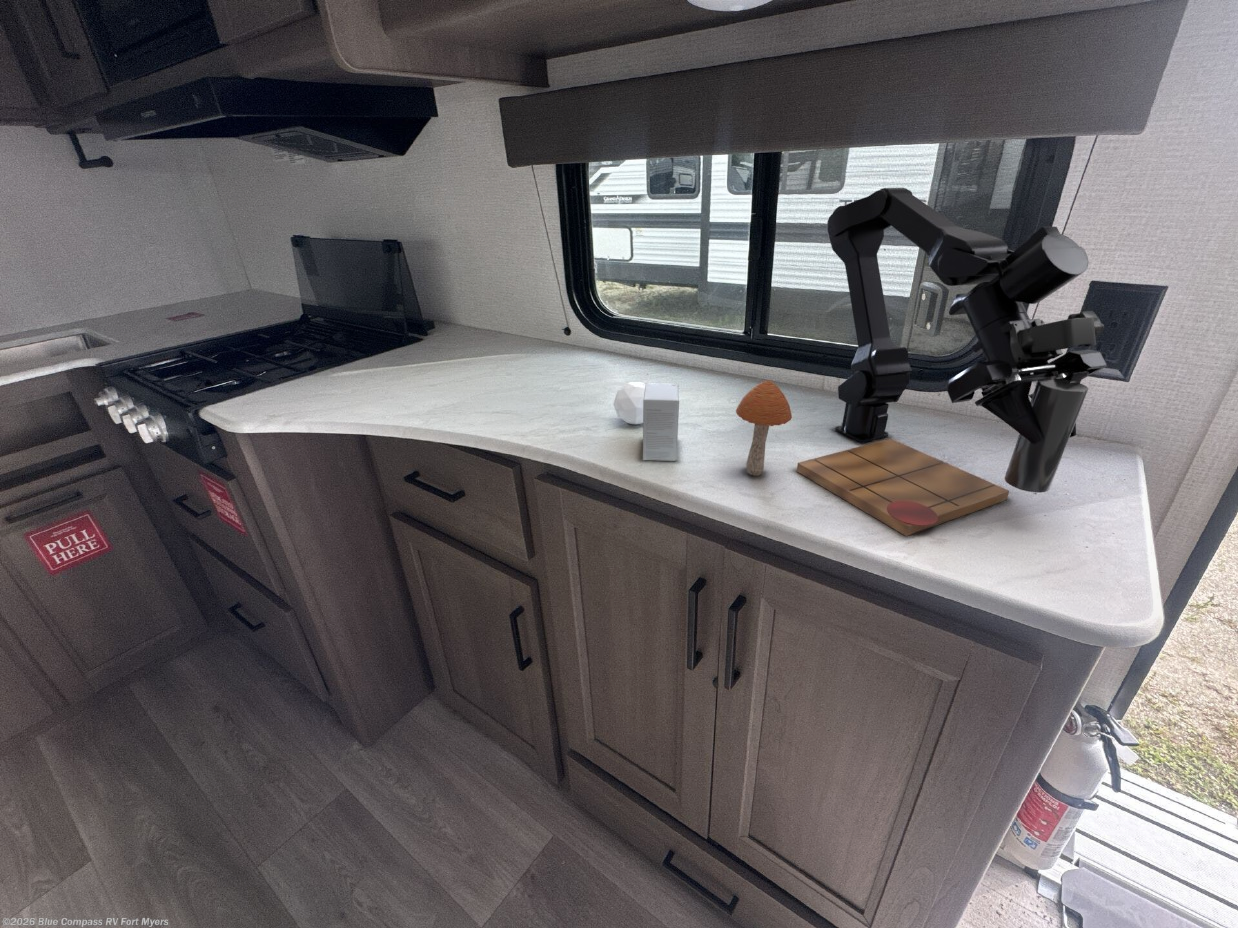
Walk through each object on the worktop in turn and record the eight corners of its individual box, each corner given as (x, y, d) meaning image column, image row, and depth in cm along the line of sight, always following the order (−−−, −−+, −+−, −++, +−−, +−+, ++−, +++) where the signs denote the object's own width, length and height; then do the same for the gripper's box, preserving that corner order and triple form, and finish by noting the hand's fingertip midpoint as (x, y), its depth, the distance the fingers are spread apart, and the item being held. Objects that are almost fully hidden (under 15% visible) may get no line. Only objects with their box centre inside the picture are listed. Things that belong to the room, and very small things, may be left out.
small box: (644, 440, 98) (645, 382, 93) (676, 441, 97) (679, 382, 93) (641, 460, 91) (642, 399, 86) (676, 461, 90) (679, 399, 86)
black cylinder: (995, 479, 72) (1028, 381, 66) (1019, 471, 74) (1053, 375, 68) (1034, 496, 68) (1072, 394, 62) (1058, 487, 70) (1097, 387, 64)
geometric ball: (629, 431, 108) (627, 391, 110) (665, 424, 104) (663, 383, 105) (605, 424, 102) (604, 381, 103) (643, 416, 98) (641, 372, 99)
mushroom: (785, 488, 82) (799, 390, 75) (730, 484, 83) (739, 387, 77) (781, 464, 89) (793, 372, 82) (730, 460, 90) (738, 370, 84)
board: (796, 471, 87) (797, 461, 86) (888, 446, 95) (890, 437, 94) (912, 540, 70) (915, 529, 69) (1014, 503, 78) (1017, 493, 77)
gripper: (995, 291, 61) (1057, 422, 57) (1120, 281, 66) (1187, 402, 62) (923, 344, 72) (971, 459, 67) (1036, 333, 76) (1088, 439, 72)
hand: (1054, 440), depth 67 cm, fingers closed on black cylinder, 5 cm apart
